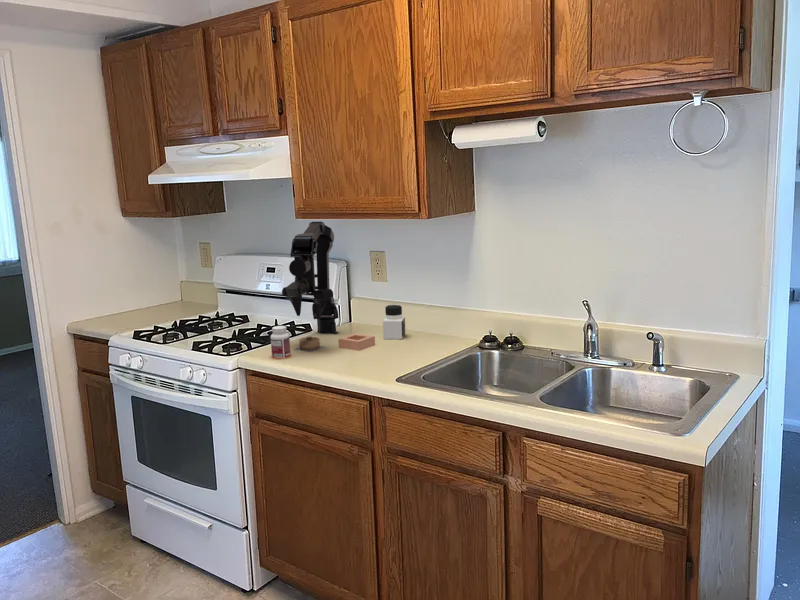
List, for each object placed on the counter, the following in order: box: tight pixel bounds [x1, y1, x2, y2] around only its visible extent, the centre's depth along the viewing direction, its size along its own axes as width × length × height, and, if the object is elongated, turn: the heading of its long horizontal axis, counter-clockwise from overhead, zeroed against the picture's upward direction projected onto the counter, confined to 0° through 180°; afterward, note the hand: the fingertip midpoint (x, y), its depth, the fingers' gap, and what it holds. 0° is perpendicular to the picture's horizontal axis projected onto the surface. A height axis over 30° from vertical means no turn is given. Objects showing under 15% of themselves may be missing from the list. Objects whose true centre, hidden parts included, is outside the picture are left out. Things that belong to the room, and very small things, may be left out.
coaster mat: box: [293, 345, 325, 353], centre depth 244 cm, size 8×8×1 cm
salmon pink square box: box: [337, 332, 376, 352], centre depth 244 cm, size 9×9×4 cm
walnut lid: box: [298, 336, 321, 352], centre depth 243 cm, size 7×7×4 cm
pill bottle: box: [270, 325, 292, 360], centre depth 233 cm, size 6×6×11 cm
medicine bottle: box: [382, 304, 406, 340], centre depth 259 cm, size 7×7×12 cm
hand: (308, 317), depth 242 cm, fingers open, 9 cm apart
